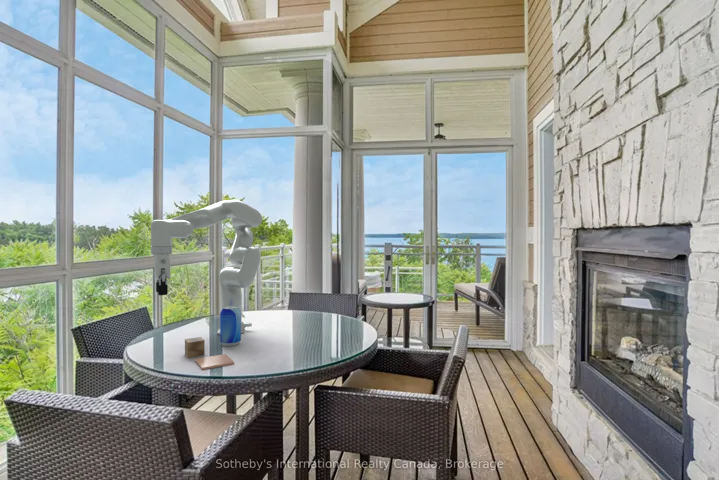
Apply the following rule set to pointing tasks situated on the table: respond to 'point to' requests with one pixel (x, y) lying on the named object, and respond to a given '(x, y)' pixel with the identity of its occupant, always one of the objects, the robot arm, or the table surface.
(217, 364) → the coaster
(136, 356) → the table surface
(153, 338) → the table surface
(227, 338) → the beer can
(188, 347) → the walnut block
